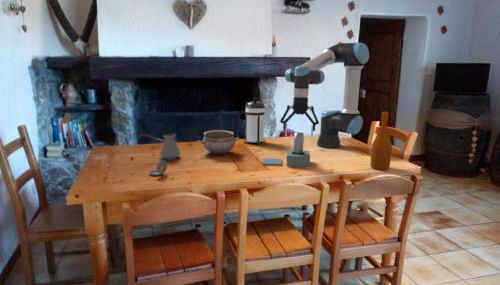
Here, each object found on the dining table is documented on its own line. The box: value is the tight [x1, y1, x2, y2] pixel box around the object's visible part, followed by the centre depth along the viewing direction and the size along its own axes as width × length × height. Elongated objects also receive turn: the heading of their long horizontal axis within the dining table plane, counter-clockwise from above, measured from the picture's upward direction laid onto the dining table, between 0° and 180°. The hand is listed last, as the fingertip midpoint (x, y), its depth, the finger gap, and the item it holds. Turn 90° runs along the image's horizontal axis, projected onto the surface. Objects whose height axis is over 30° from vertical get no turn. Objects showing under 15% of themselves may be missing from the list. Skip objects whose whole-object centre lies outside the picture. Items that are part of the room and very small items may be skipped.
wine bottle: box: [370, 111, 393, 171], centre depth 189 cm, size 10×10×30 cm
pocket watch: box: [149, 155, 168, 177], centre depth 176 cm, size 8×8×10 cm
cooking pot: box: [197, 129, 240, 156], centre depth 214 cm, size 25×19×12 cm
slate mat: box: [261, 157, 282, 167], centre depth 199 cm, size 10×10×1 cm
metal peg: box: [293, 131, 305, 155], centre depth 196 cm, size 5×5×17 cm
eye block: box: [286, 149, 311, 168], centre depth 197 cm, size 12×12×6 cm
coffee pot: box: [139, 132, 181, 161], centre depth 202 cm, size 21×12×15 cm, turn 109°
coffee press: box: [236, 97, 267, 146], centre depth 239 cm, size 17×16×30 cm
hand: (298, 136), depth 194 cm, fingers open, 13 cm apart
